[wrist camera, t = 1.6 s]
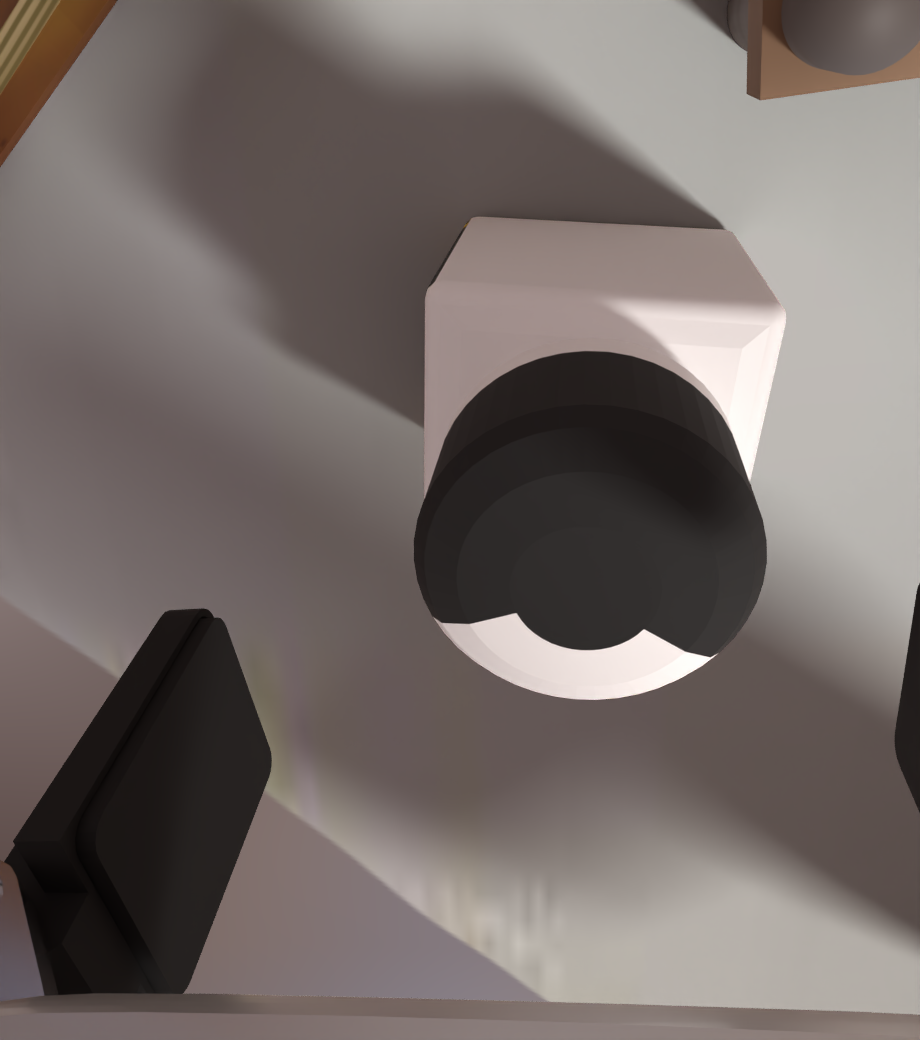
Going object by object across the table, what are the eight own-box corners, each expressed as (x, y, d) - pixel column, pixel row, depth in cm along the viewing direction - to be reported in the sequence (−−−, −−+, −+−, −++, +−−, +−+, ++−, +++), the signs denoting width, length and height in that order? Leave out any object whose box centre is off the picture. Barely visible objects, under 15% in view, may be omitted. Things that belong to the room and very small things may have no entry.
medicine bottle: (465, 213, 23) (367, 371, 13) (737, 227, 22) (865, 408, 12) (459, 452, 27) (378, 725, 16) (692, 470, 26) (761, 768, 16)
